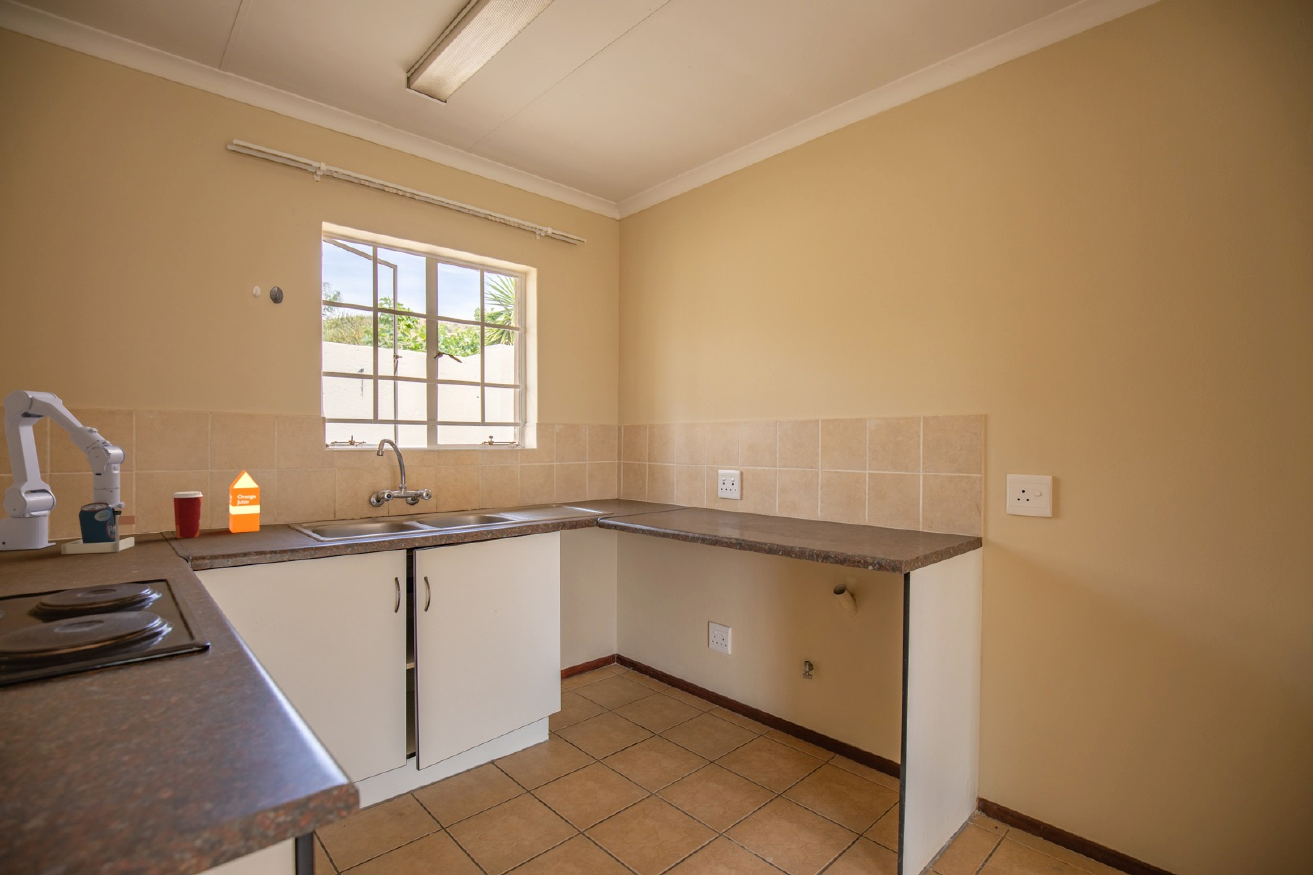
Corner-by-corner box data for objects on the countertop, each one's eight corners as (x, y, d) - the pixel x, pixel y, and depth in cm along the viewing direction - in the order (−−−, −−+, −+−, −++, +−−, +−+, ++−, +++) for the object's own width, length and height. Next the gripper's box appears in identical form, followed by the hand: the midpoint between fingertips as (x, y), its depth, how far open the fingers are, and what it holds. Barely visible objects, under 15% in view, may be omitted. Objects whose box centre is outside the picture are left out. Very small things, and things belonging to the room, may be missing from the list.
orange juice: (256, 527, 216) (256, 469, 216) (259, 530, 210) (260, 470, 210) (228, 529, 212) (229, 470, 211) (231, 532, 205) (232, 471, 205)
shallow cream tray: (58, 554, 166) (59, 517, 166) (82, 547, 176) (83, 512, 176) (134, 551, 171) (134, 515, 171) (153, 544, 181) (153, 510, 181)
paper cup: (208, 535, 199) (209, 491, 199) (188, 539, 191) (188, 493, 191) (186, 534, 200) (186, 491, 200) (165, 538, 192) (165, 493, 192)
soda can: (119, 547, 174) (113, 507, 171) (86, 554, 169) (79, 513, 166) (114, 539, 178) (108, 499, 175) (81, 545, 173) (75, 504, 170)
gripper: (110, 490, 171) (110, 540, 171) (136, 486, 185) (136, 532, 185) (78, 491, 169) (78, 541, 169) (107, 486, 183) (107, 533, 183)
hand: (106, 536), depth 177 cm, fingers closed, pressing on soda can
